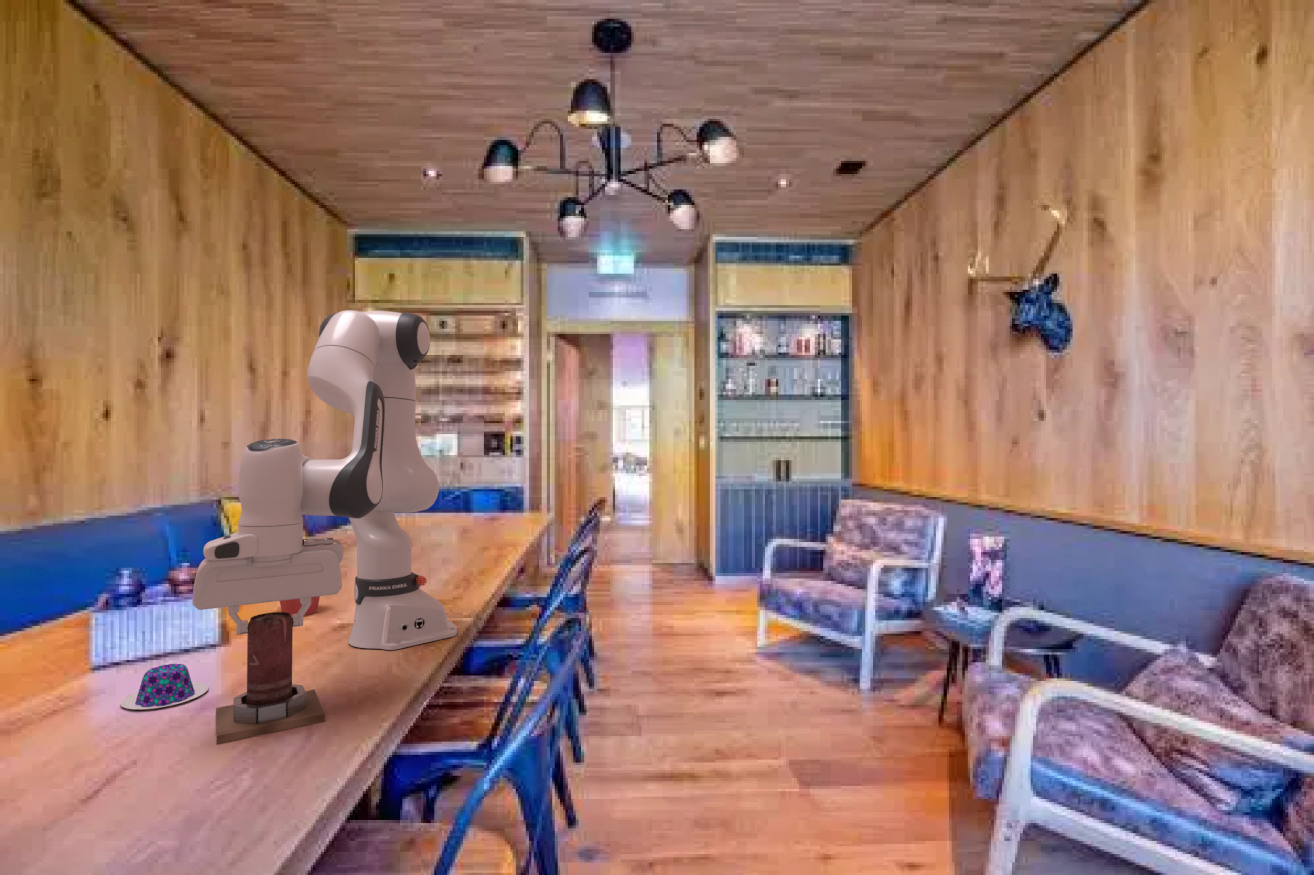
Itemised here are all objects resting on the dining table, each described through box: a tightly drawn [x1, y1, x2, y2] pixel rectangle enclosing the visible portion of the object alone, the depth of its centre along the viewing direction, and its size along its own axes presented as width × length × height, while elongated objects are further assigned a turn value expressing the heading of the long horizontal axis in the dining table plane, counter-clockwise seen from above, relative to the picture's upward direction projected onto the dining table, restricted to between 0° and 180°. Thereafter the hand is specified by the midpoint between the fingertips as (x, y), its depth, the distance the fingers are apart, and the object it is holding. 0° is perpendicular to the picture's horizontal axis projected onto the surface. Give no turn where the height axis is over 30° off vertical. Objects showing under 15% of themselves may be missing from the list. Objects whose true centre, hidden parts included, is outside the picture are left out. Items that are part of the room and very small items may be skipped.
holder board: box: [215, 689, 326, 745], centre depth 103 cm, size 14×12×1 cm
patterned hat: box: [119, 663, 209, 710], centre depth 111 cm, size 12×12×5 cm
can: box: [246, 611, 294, 706], centre depth 103 cm, size 6×6×14 cm
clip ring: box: [232, 683, 306, 725], centre depth 103 cm, size 10×10×2 cm
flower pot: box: [279, 596, 321, 617], centre depth 166 cm, size 11×11×10 cm
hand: (270, 629), depth 103 cm, fingers closed on can, 6 cm apart
